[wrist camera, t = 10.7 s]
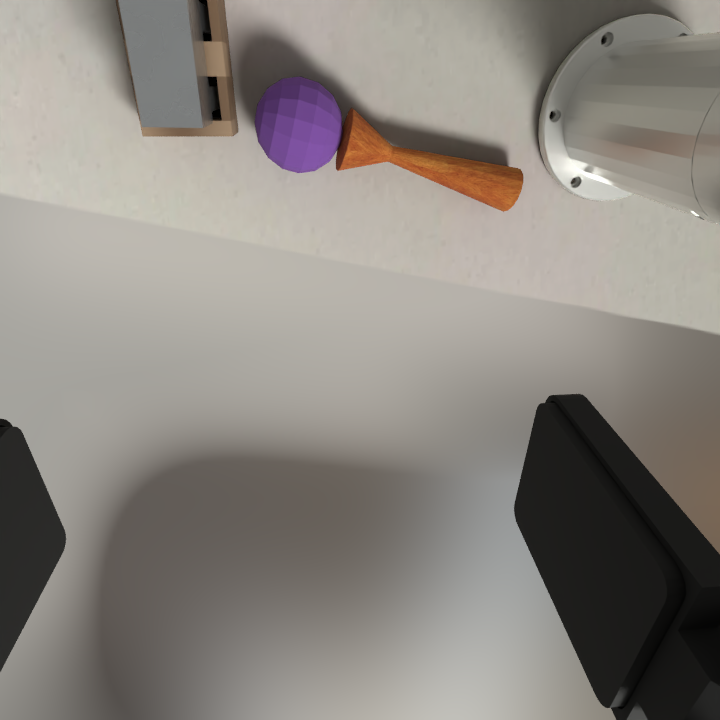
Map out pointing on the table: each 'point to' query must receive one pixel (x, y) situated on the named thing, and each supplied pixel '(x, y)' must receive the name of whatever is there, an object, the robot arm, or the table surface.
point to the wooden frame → (216, 66)
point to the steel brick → (169, 62)
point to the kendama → (363, 144)
